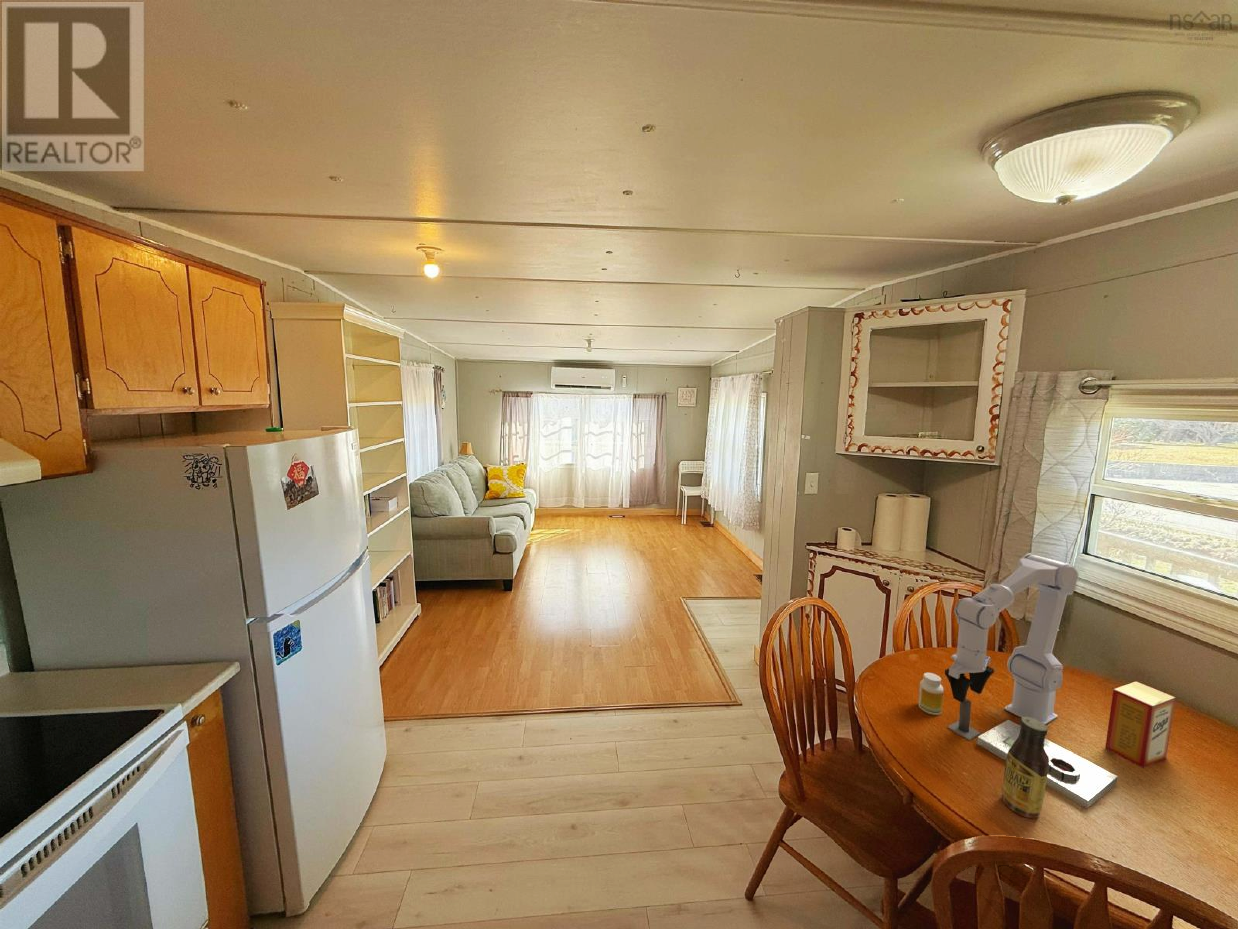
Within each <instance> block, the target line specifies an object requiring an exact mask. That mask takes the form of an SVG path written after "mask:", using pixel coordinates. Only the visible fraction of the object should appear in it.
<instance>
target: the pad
mask: <svg viewBox="0 0 1238 929" xmlns="http://www.w3.org/2000/svg"><path fill="white" fill-rule="evenodd" d="M1014 742H1015V741H1014V740H1012V739H1008V740H1006V741H1005V743H1006V744H1008V745H1009V746H1012V745H1013V743H1014Z"/></svg>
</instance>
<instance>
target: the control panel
mask: <svg viewBox="0 0 1238 929" xmlns="http://www.w3.org/2000/svg"><path fill="white" fill-rule="evenodd" d="M1020 728H1021V726H1020V724H1018V723H1015V722H1014V721H1011V720H1010V719H1007V720H1005V721H1003V722H1002V723H1000V724H998V725H996V726H994V727H993V728H991V729H990V730H987V731H986V732H984V733H982V734H980V735H978V736H977V740H976V741H977V742H976V744H977V745H978V746H980V747H982V748H983V749H985V750H987V751H988V752H990V753H992V754H993V755H995V756H996V757H998V758H1001V759H1002V760H1003V761H1005V762H1006V761H1007V755H1008V751H1009V749H1010V748H1011V746H1009V745H1008V744H1006V743H1005V741H1006V740H1008V739H1012V740H1014V741H1016V740H1017V738H1018V737H1019V734H1020ZM1044 750H1045V752H1046V754H1047V756H1048V758H1049V766H1048V775H1047V781H1046V786H1048V787H1049V788H1051V789H1052V790H1054V791H1056V790H1057V791H1056V792H1058V793H1059V792H1060V793H1059V794H1061V795H1063V796H1065V797H1066V798H1068V799H1070V800H1072V802H1075V803H1076V804H1078V805H1080V806H1081V807H1083V808H1085V809H1089V808H1090V807H1091V806H1093V805H1094V804H1095V803H1096V802H1097V801H1099V800H1100V799H1101V798H1102V797H1103V796H1105V794H1107V793H1108V792H1109V791H1110V790H1112V789H1113V788H1114V787H1116V786H1117V782H1118V775H1116V774H1114V773H1112V772H1109V771H1108V770H1106V769H1105V768H1103V767H1100V766H1099V765H1096V764H1094V763H1093V762H1091V761H1089V760H1087V759H1085V758H1084V757H1083V758H1082V757H1081V756H1079V755H1077V754H1076V753H1073V752H1072V751H1070V750H1067V749H1065V748H1064V747H1061V746H1060V745H1058V744H1056V743H1054V742H1052V741H1051V740H1048V739H1046V738H1045V740H1044ZM1057 767H1060V768H1063V769H1065V770H1066V771H1063V770H1061V769H1059V768H1057Z"/></svg>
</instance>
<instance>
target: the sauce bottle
mask: <svg viewBox="0 0 1238 929" xmlns="http://www.w3.org/2000/svg"><path fill="white" fill-rule="evenodd" d="M1019 726H1021V728H1020V734H1019V737H1018V738H1017V740H1016V741H1015V742H1014V743H1013V745H1012V746H1011V748H1010V749H1009V751H1008V755H1007V761H1005V762H1006V763H1005V769H1004V772H1003V779H1002V780H1003V781H1002V787H1001V798H1002V801H1003V802H1004V805H1006V807H1007V808H1009V809H1010V810H1012V811H1013V812H1015V813H1016V814H1018V815H1019V816H1021V817H1024V818H1029V819H1036V818H1038V817H1039V816H1040V814H1041V812H1042V808H1043V802H1044V797H1045V792H1046V786H1047V785H1046V781H1047V775H1048V766H1049V758H1048V756H1047V754H1046V752H1045V750H1044V740H1045V739H1046V736H1047V735H1048V726H1047V724H1044V723H1042V722H1040V721H1039V720H1037V719H1034V718H1031V717H1022V718H1021V717H1020V721H1019Z"/></svg>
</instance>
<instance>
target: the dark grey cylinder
mask: <svg viewBox="0 0 1238 929" xmlns="http://www.w3.org/2000/svg"><path fill="white" fill-rule="evenodd" d="M959 702H960V701H959ZM971 709H972V701H971V700H970V699H967V698H965V701H964V702H963V703H961V702H960V703H959V716H958V721H959V725H958V728H959V730H961V731H963V732H969V727H970V725H971V724H970V723H971V722H970V721H971V711H972V710H971Z"/></svg>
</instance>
